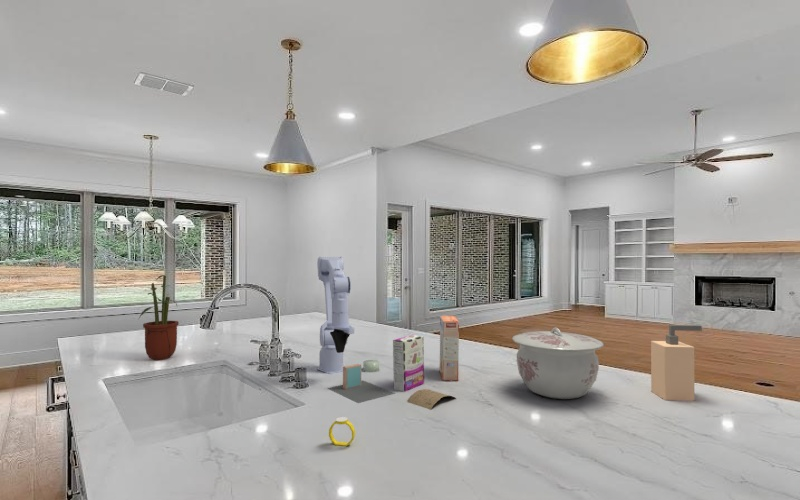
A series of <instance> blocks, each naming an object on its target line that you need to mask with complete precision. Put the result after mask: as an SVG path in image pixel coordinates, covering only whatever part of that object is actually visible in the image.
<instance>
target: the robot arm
mask: <svg viewBox="0 0 800 500" xmlns="http://www.w3.org/2000/svg"><path fill="white" fill-rule="evenodd" d="M344 262H345V261H344V258H343V257H342V256H319V257H318V258H317V277H318V280H320V281H321V282H322V283H323V287H324V297H325V298H324V299H325V300H324V301H325V313H326V321H325V322H324V323H322V324H321V325H320V327H319V344H320V346H321V348H320V350H319V357H318V359H319V361H318V362H319V366H318V367H317V370H319V371H320V372H323V373H325V374H328V375H333V374H337V373H343V367H344V352H345V348H346V346H347V344H348V339H349V337H350V335H354V334H355V327H352V325H350V324H349V323H350V322H349V321H350V318H349V316H350V315H349V313H350V312H349V311H350V309H349V301H350V300H349V296H350V295H349V294H351V286H352V285H351V279H350V276H346V273H345V272H344V269H345V267H344V266H345V265H344V264H345V263H344Z"/></svg>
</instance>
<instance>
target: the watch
mask: <svg viewBox="0 0 800 500" xmlns="http://www.w3.org/2000/svg"><path fill="white" fill-rule="evenodd" d="M335 425H347V427H349V429H350V431H351V438H350V440H349V441H348V442H345V441H338V440H337V439H336V438H334V435H333V427H334V426H335ZM328 437H329V440H330V442H331V443H333V445H334V446H340V447H341V446H344V447H348V446H349V445H350V444H352V442H353V441H354V439H355V437H356V429H355V427H354V425H353V423H352V422H351V421H349V418H348V417H346V416H341V417H337V418H336V419H335V421H333V423H331V425H330V426H329V429H328Z"/></svg>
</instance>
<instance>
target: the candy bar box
mask: <svg viewBox="0 0 800 500" xmlns="http://www.w3.org/2000/svg"><path fill="white" fill-rule="evenodd" d="M392 350H393V351H392V358H393V367H392V368H393V390H396V391H400V392H405V393H406V392H408V391H410V390H412V389H415V388H417V387H421V386H423V385H424V384H425V368H424V367H425V363H424V362H425V361H424V358H425V357H424V356H425V355H424V353H425V351H424V350H425V349H424V335H419V334H411V335H406V336H403V337H400V338H394V339H393V340H392Z"/></svg>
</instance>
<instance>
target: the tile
mask: <svg viewBox="0 0 800 500" xmlns="http://www.w3.org/2000/svg"><path fill="white" fill-rule="evenodd" d="M361 381H362V364H360V363H356V364H351V365H345V366H344V365H343V372H342V385H343V388H344V389H350V388H355V387H359V386H361Z"/></svg>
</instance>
